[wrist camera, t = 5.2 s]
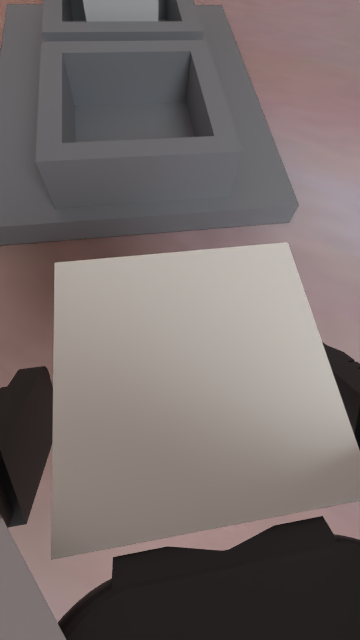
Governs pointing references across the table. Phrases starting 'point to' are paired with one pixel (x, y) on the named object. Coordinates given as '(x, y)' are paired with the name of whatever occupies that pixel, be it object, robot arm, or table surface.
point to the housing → (130, 124)
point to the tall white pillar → (190, 398)
